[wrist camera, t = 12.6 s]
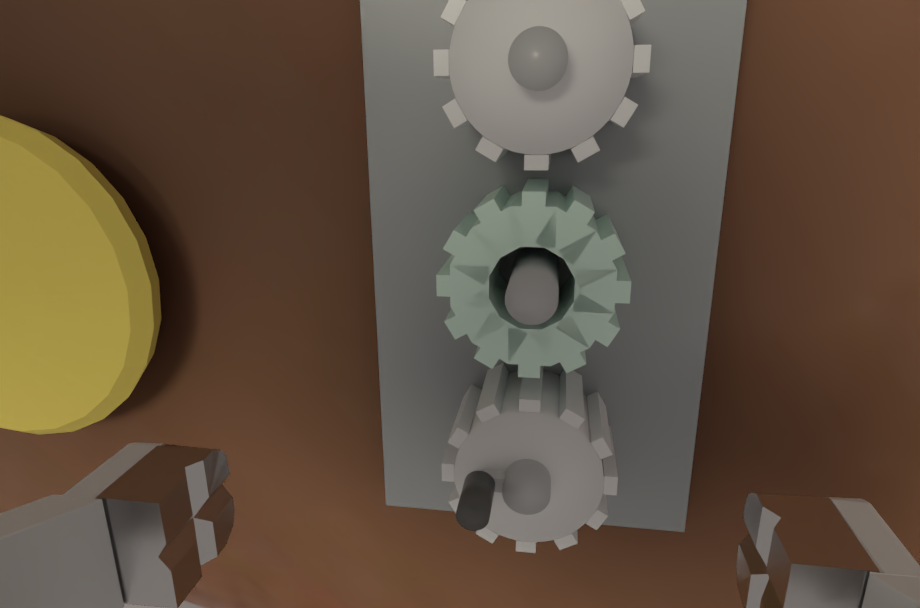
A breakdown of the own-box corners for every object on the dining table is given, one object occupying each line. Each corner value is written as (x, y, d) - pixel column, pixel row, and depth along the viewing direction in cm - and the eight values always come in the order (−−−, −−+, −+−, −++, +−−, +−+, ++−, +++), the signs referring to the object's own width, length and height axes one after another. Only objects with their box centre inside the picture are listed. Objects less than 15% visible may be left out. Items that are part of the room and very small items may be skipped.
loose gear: (453, 177, 25) (434, 190, 22) (626, 179, 24) (638, 192, 20) (455, 335, 27) (438, 372, 24) (614, 343, 26) (623, 383, 23)
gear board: (677, 505, 30) (718, 651, 22) (396, 482, 32) (340, 607, 24) (741, -70, 23) (837, -165, 15) (372, -52, 25) (280, -126, 17)
